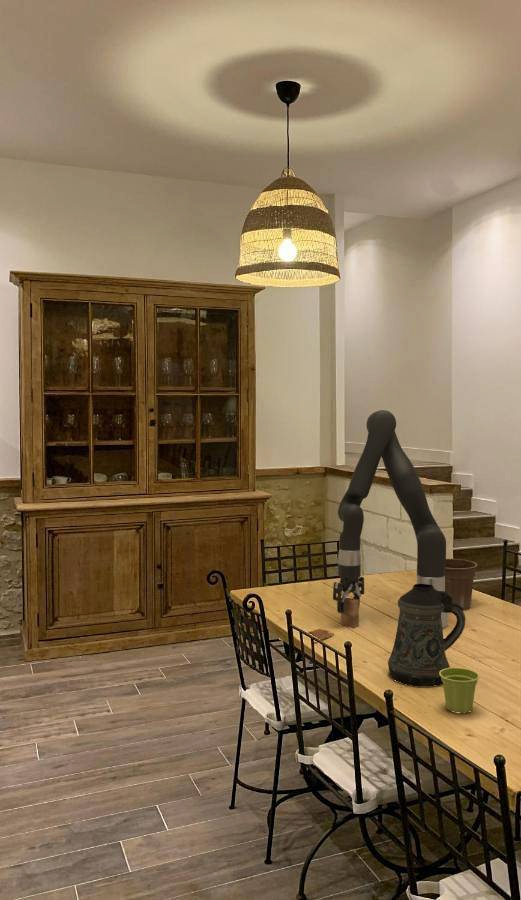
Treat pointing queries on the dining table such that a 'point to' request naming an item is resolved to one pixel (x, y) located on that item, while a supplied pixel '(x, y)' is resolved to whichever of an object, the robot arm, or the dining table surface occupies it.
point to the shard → (321, 634)
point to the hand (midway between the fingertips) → (348, 610)
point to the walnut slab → (350, 613)
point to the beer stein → (423, 636)
